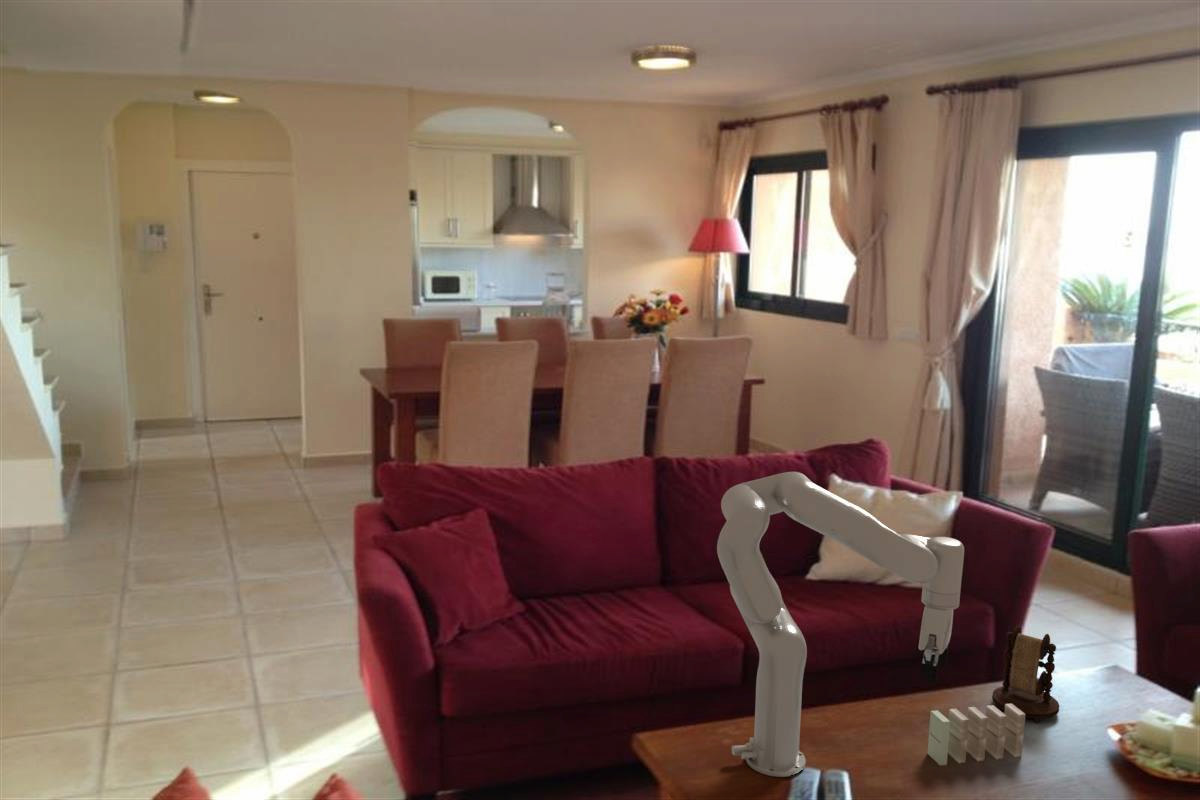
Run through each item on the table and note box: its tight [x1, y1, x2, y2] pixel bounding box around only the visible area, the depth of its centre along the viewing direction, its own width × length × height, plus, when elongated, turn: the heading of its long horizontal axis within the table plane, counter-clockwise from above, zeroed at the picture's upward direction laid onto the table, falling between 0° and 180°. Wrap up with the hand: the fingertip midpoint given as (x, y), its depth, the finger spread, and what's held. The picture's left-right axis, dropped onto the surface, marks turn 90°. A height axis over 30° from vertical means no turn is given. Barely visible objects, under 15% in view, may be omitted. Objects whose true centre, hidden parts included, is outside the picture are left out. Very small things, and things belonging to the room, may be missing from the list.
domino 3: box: [966, 706, 988, 762], centre depth 215 cm, size 2×5×10 cm, turn 12°
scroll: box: [991, 625, 1060, 724], centre depth 236 cm, size 15×15×20 cm
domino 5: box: [1003, 703, 1026, 758], centre depth 217 cm, size 2×5×10 cm, turn 12°
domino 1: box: [927, 710, 950, 767], centre depth 213 cm, size 2×5×10 cm, turn 12°
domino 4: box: [985, 704, 1007, 761], centre depth 216 cm, size 2×5×10 cm, turn 12°
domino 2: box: [948, 708, 969, 764], centre depth 214 cm, size 2×5×10 cm, turn 12°
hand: (933, 673), depth 210 cm, fingers open, 9 cm apart
